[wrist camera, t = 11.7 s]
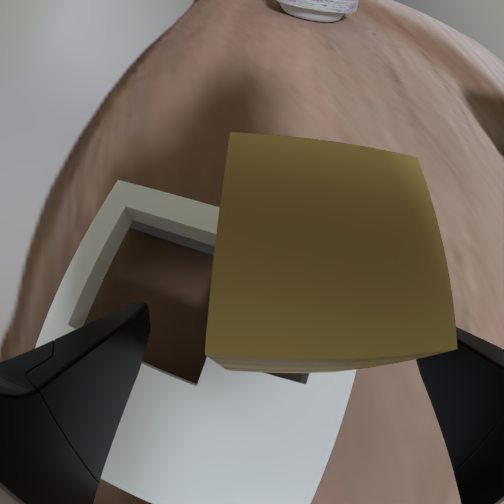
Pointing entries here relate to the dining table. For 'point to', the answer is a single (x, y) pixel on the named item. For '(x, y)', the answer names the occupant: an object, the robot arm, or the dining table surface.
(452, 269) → the dining table surface
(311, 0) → the paper bowls
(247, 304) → the peg
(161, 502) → the white stepped cutout frame
